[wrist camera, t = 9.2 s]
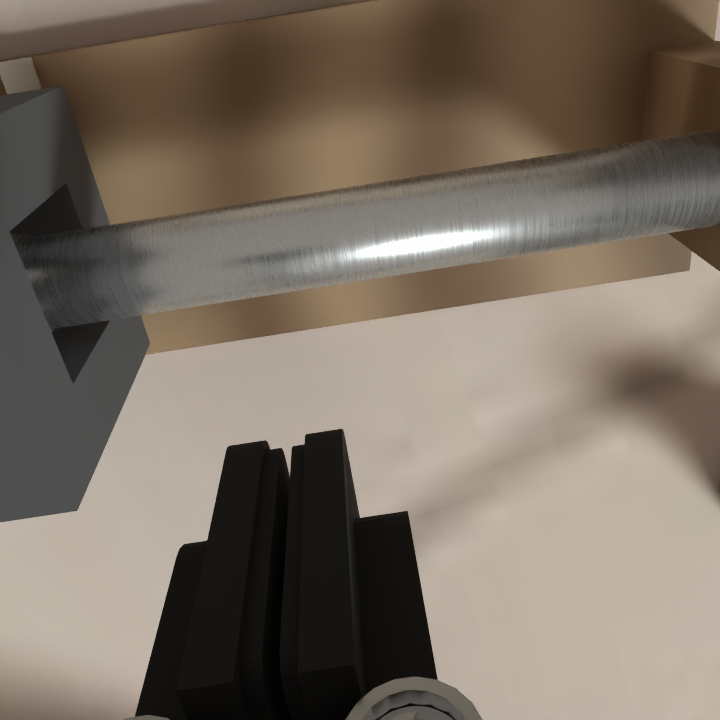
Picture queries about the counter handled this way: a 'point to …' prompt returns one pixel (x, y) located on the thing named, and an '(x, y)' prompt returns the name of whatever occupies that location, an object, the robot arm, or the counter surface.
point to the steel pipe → (376, 230)
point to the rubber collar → (31, 331)
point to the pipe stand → (385, 128)
